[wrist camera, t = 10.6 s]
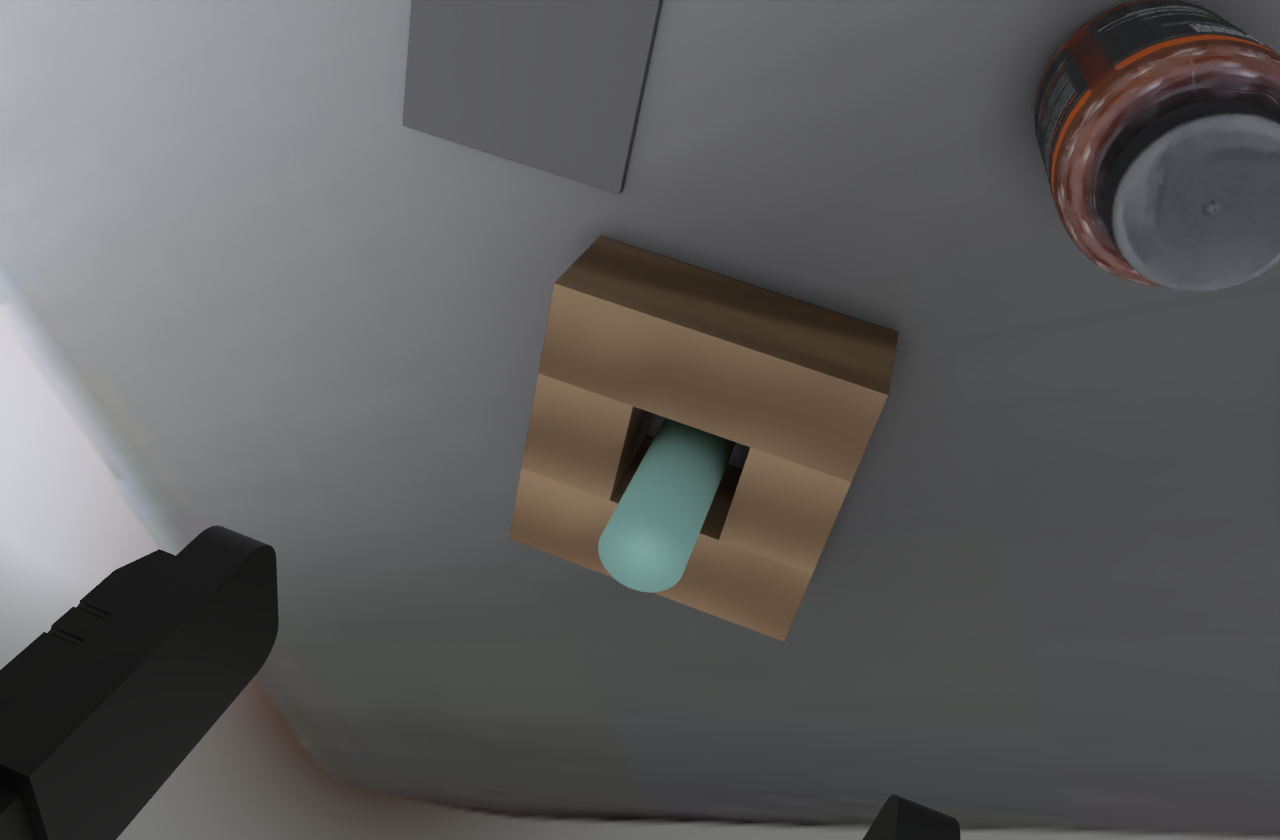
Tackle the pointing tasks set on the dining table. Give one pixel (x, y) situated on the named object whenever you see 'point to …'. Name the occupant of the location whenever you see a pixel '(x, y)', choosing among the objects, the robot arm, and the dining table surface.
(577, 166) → the mat
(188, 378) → the dining table surface
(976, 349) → the dining table surface
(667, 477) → the peg
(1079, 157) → the supplement bottle
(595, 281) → the hole block
